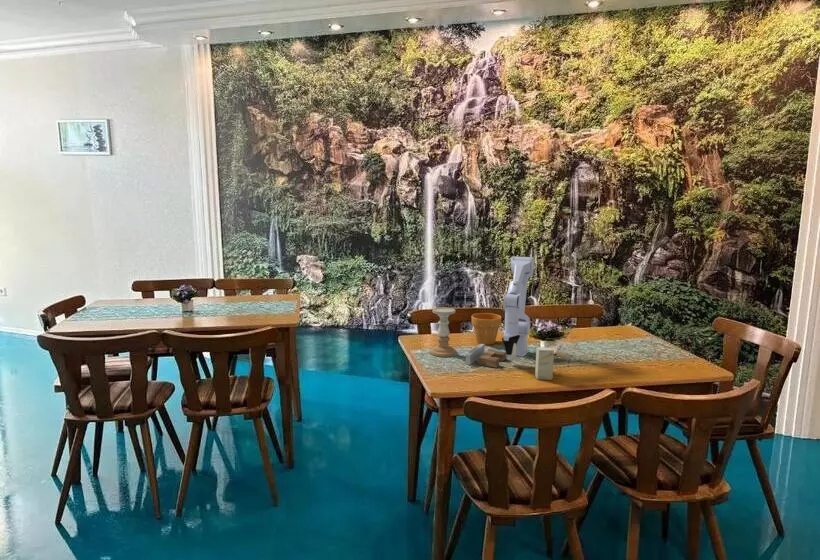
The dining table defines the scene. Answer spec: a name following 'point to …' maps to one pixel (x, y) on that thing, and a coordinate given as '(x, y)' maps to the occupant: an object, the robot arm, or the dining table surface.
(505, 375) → the dining table surface
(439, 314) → the candle holder
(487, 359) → the block
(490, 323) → the flower pot
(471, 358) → the wall
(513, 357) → the dowel
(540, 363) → the skincare box
